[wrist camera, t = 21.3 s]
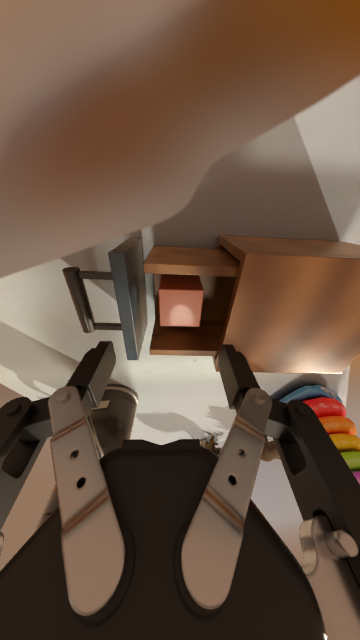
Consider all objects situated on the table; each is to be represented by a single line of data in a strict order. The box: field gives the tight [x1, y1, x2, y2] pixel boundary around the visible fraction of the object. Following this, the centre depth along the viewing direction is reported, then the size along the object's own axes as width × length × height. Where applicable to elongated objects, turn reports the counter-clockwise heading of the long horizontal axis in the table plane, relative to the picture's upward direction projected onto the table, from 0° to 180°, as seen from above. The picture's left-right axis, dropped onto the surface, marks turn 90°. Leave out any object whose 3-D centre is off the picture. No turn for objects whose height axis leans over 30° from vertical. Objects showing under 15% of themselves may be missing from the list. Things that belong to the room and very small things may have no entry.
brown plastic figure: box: [200, 436, 222, 456], centre depth 48 cm, size 8×7×9 cm
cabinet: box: [212, 235, 360, 374], centre depth 19 cm, size 15×13×9 cm
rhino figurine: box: [261, 434, 280, 461], centre depth 47 cm, size 4×14×6 cm, turn 100°
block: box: [159, 274, 204, 327], centre depth 19 cm, size 4×4×4 cm
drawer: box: [62, 238, 240, 360], centre depth 19 cm, size 19×11×7 cm, turn 87°
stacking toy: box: [280, 385, 360, 484], centre depth 29 cm, size 14×13×23 cm
